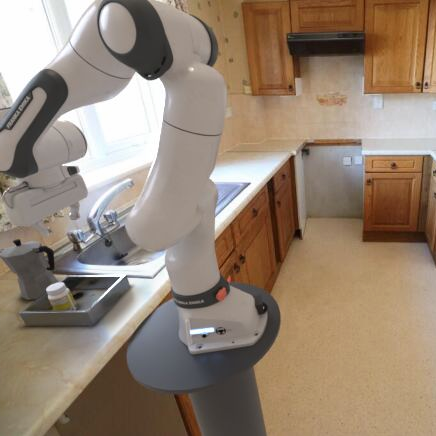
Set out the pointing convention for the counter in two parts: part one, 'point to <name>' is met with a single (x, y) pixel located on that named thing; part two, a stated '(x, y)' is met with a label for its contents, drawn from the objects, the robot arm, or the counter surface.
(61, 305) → the supplement bottle
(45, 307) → the shallow rectangular grey tray
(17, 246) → the coffeepot
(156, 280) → the counter surface
